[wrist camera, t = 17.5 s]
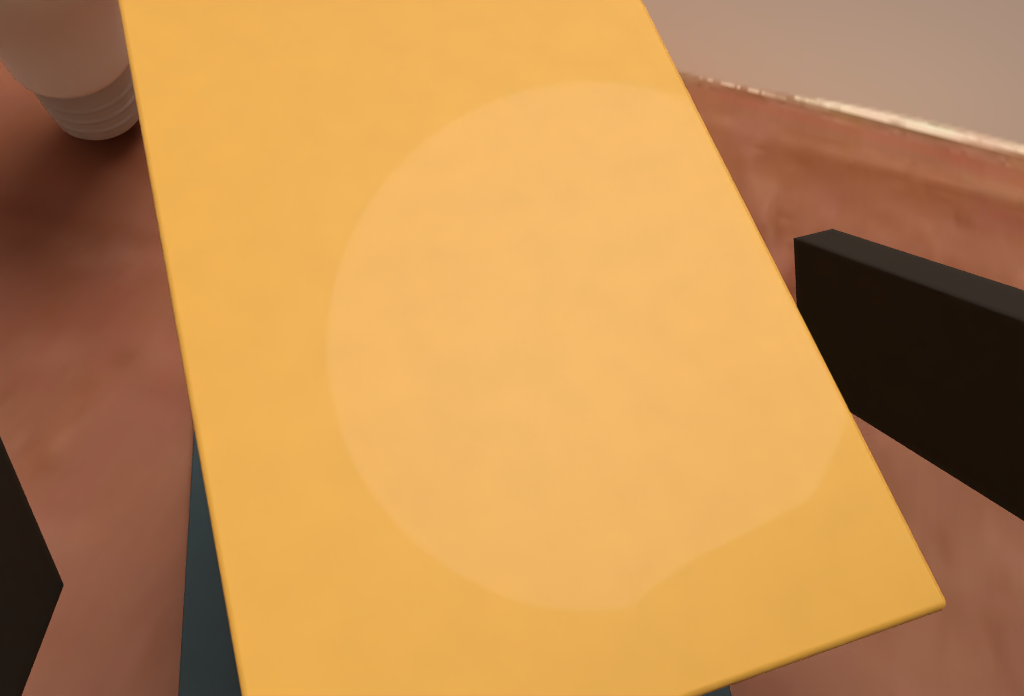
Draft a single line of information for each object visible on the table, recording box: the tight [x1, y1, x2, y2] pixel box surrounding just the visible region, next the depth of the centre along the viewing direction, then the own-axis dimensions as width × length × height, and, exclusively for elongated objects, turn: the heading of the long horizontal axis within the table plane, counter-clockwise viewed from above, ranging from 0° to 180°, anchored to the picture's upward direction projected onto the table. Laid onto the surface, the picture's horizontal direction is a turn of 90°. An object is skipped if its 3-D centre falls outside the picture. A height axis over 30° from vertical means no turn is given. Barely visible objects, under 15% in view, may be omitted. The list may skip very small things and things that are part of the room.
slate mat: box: [178, 431, 731, 696], centre depth 20 cm, size 12×14×1 cm
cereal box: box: [118, 0, 946, 696], centre depth 14 cm, size 5×9×14 cm, turn 18°
